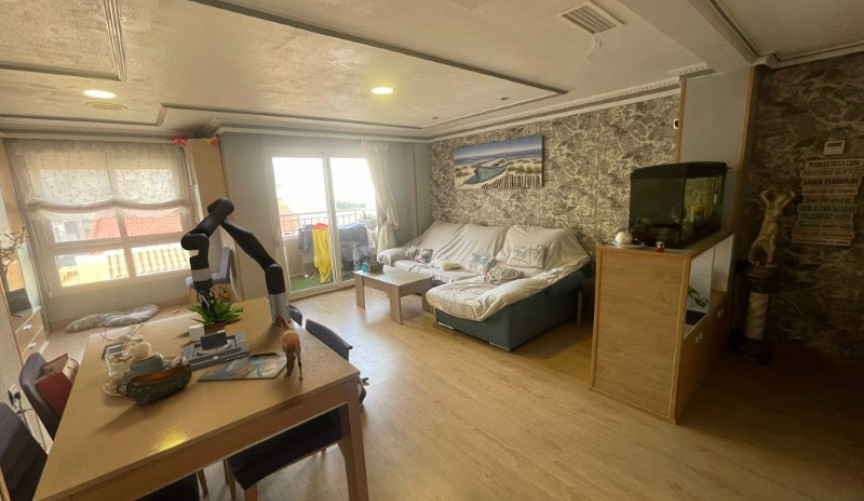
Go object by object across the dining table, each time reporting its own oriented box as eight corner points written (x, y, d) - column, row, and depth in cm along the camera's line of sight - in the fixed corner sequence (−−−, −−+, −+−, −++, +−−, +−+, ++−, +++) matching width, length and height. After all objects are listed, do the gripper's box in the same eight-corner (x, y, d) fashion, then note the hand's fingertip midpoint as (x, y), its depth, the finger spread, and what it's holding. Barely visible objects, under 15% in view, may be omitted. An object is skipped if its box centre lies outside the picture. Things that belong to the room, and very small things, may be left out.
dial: (196, 347, 164) (194, 333, 163) (230, 338, 172) (228, 324, 171) (198, 358, 153) (195, 342, 152) (234, 348, 161) (231, 333, 160)
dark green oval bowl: (136, 392, 132) (130, 368, 131) (196, 381, 139) (192, 357, 137) (118, 413, 120) (112, 386, 119) (185, 399, 127) (180, 374, 125)
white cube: (209, 335, 184) (206, 323, 183) (199, 341, 177) (196, 328, 176) (197, 336, 185) (194, 323, 183) (186, 341, 178) (184, 329, 177)
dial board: (245, 335, 181) (244, 329, 180) (249, 354, 159) (248, 347, 158) (184, 350, 167) (183, 343, 167) (180, 373, 145) (178, 365, 145)
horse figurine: (280, 357, 154) (274, 313, 151) (299, 352, 158) (293, 309, 154) (285, 392, 127) (276, 339, 123) (307, 385, 130) (300, 334, 126)
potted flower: (222, 332, 187) (217, 301, 184) (179, 334, 188) (173, 303, 185) (247, 315, 212) (243, 287, 209) (209, 317, 213) (204, 290, 209)
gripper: (187, 278, 158) (193, 312, 161) (198, 282, 149) (206, 317, 152) (205, 274, 164) (211, 307, 167) (217, 277, 155) (224, 312, 158)
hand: (209, 312), depth 159 cm, fingers open, 8 cm apart
